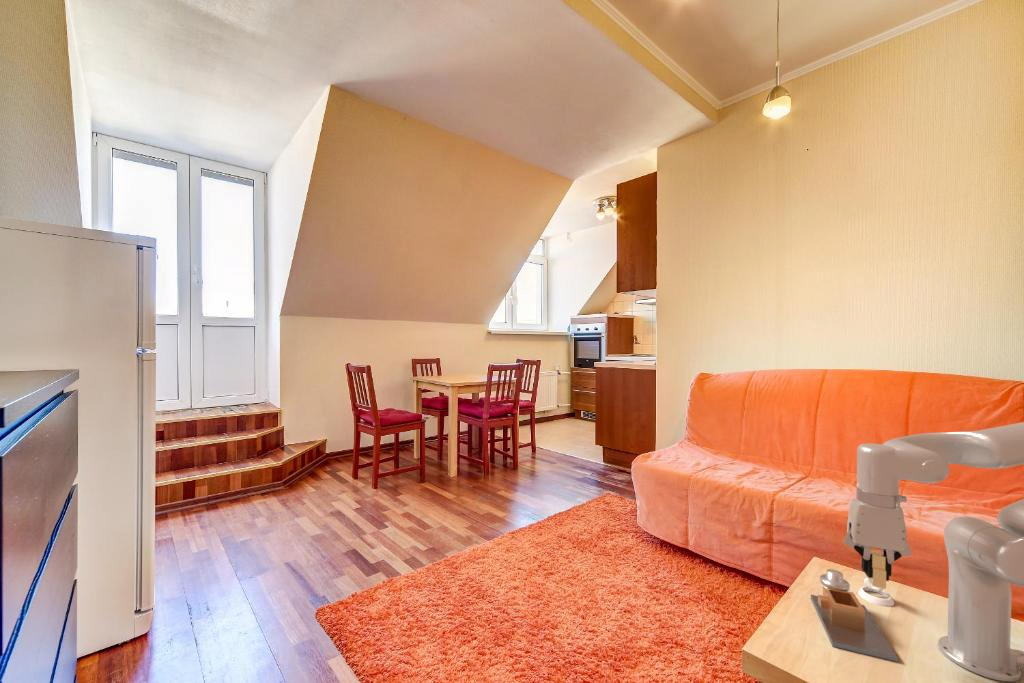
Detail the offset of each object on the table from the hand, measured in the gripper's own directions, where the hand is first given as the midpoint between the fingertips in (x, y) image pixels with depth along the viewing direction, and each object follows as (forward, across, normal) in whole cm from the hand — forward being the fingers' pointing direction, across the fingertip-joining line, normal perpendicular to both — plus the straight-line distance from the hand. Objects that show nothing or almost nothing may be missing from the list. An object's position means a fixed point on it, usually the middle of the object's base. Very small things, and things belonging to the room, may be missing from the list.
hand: (876, 575), depth 100 cm
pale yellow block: (+2, 0, 0) cm, 2 cm away
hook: (+17, -8, -24) cm, 31 cm away
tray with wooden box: (+17, +3, -6) cm, 19 cm away
